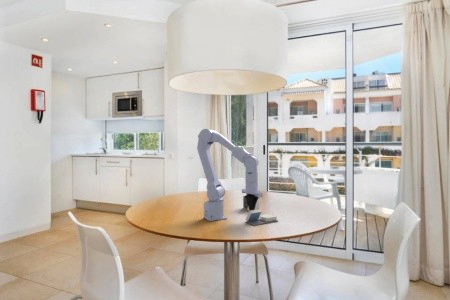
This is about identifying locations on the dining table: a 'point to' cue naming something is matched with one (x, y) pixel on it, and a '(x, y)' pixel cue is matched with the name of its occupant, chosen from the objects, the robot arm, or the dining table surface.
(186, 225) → the dining table surface
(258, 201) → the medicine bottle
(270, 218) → the tile far
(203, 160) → the robot arm
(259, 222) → the mat
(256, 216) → the tile near
